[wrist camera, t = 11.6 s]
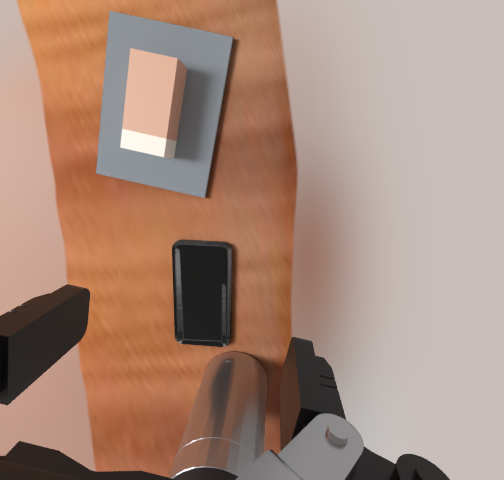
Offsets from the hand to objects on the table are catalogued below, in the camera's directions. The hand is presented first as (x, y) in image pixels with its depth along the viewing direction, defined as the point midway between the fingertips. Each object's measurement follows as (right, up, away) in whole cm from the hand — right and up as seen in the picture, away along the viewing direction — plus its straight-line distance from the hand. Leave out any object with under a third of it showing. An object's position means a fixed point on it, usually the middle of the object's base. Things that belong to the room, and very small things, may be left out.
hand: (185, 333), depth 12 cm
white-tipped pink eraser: (-8, +19, +24) cm, 32 cm away
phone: (-4, -4, +31) cm, 31 cm away
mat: (-8, +19, +25) cm, 32 cm away
